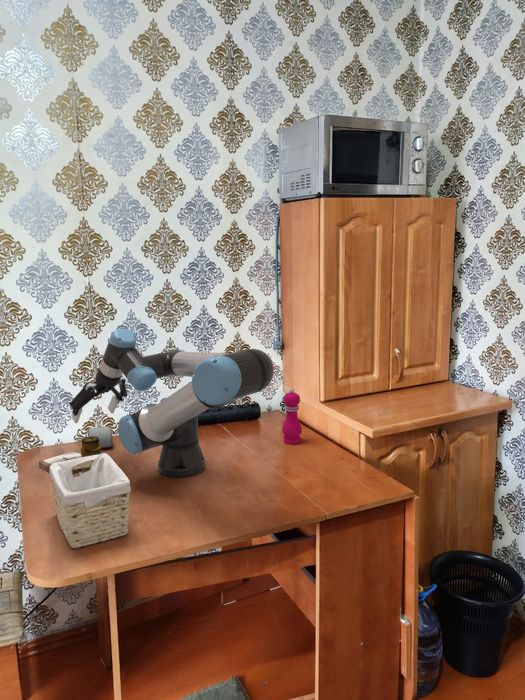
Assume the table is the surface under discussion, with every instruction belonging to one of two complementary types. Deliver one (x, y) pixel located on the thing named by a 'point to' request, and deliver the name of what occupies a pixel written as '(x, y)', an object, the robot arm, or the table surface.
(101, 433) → the ceramic mug
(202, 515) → the table surface
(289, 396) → the pepper mill
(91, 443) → the condiment
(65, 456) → the writing board
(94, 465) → the storage basket
